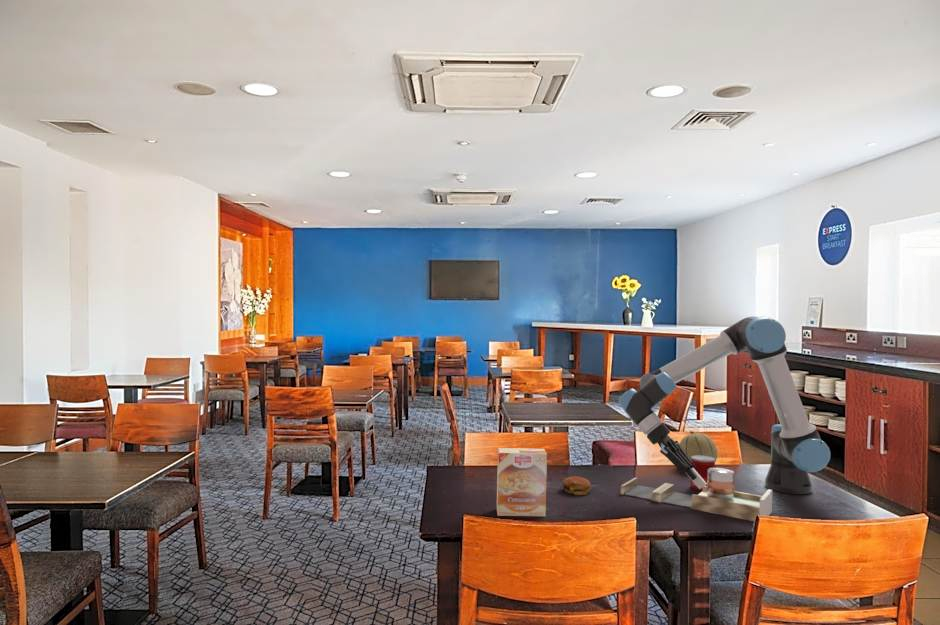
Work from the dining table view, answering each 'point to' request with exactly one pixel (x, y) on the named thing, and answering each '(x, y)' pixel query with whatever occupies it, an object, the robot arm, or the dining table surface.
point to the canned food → (702, 467)
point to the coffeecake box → (521, 482)
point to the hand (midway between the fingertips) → (703, 486)
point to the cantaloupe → (698, 445)
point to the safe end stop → (759, 502)
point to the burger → (576, 485)
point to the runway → (694, 500)
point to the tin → (720, 484)
